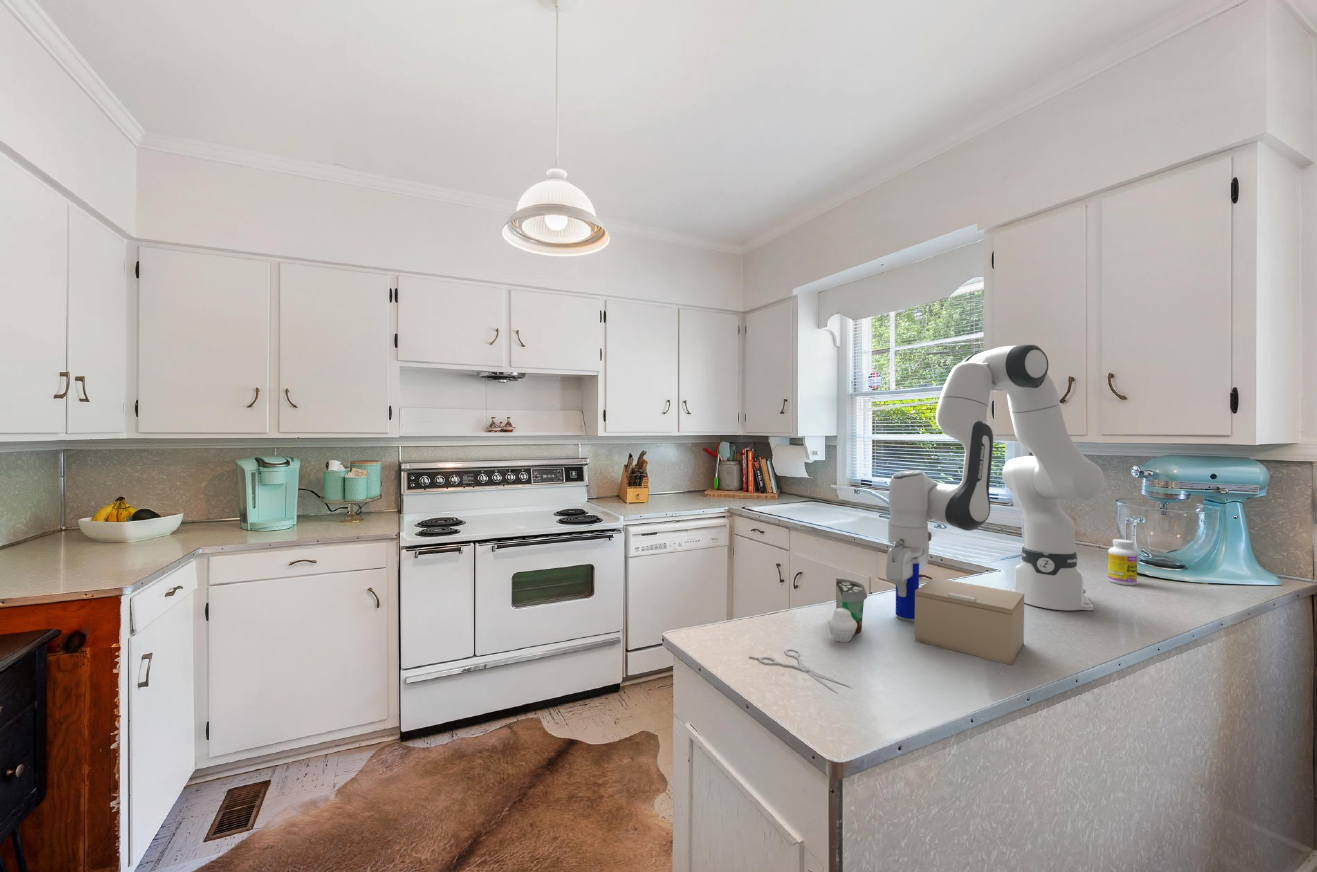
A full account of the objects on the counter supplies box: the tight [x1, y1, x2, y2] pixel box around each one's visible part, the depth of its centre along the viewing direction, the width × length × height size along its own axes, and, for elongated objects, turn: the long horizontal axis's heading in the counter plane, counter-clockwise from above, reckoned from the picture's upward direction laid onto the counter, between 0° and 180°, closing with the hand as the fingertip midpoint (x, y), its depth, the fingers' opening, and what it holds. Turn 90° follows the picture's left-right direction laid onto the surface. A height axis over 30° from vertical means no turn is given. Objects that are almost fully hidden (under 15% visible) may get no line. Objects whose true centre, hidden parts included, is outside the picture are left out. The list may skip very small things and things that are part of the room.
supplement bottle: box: [1107, 538, 1138, 586], centre depth 163 cm, size 7×7×13 cm
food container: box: [835, 578, 868, 635], centre depth 125 cm, size 12×6×10 cm, turn 168°
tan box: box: [914, 595, 1025, 666], centre depth 117 cm, size 14×18×10 cm
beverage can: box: [895, 557, 920, 622], centre depth 133 cm, size 5×5×15 cm
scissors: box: [748, 648, 854, 695], centre depth 104 cm, size 11×1×20 cm
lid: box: [915, 577, 1024, 614], centre depth 117 cm, size 14×18×2 cm
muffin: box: [827, 608, 857, 643], centre depth 119 cm, size 6×6×7 cm
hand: (907, 592), depth 133 cm, fingers closed on beverage can, 5 cm apart
